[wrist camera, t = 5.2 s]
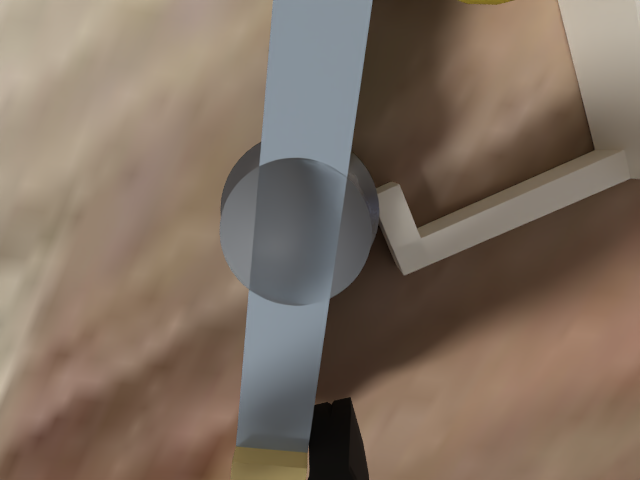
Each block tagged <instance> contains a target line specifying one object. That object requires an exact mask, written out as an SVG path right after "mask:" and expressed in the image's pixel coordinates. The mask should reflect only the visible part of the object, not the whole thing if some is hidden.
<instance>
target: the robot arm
mask: <svg viewBox="0 0 640 480" xmlns="http://www.w3.org/2000/svg"><path fill="white" fill-rule="evenodd" d="M309 465H310V472H309V478H308V480H369V474H368V468H367V462H366V456H365V451H364V445H363V441H362V437H361V433H360V430H359V426H358V423H357V419H356V415H355V412H354V408H353V404H352V401H351V397H349V398H344V399H340V400H335V401H334V402H333V403H332V405H331V404H330V403H328V402H326V403H322V404H317V405H314V411H313V418H312V425H311V432H310V439H309Z"/></svg>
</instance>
